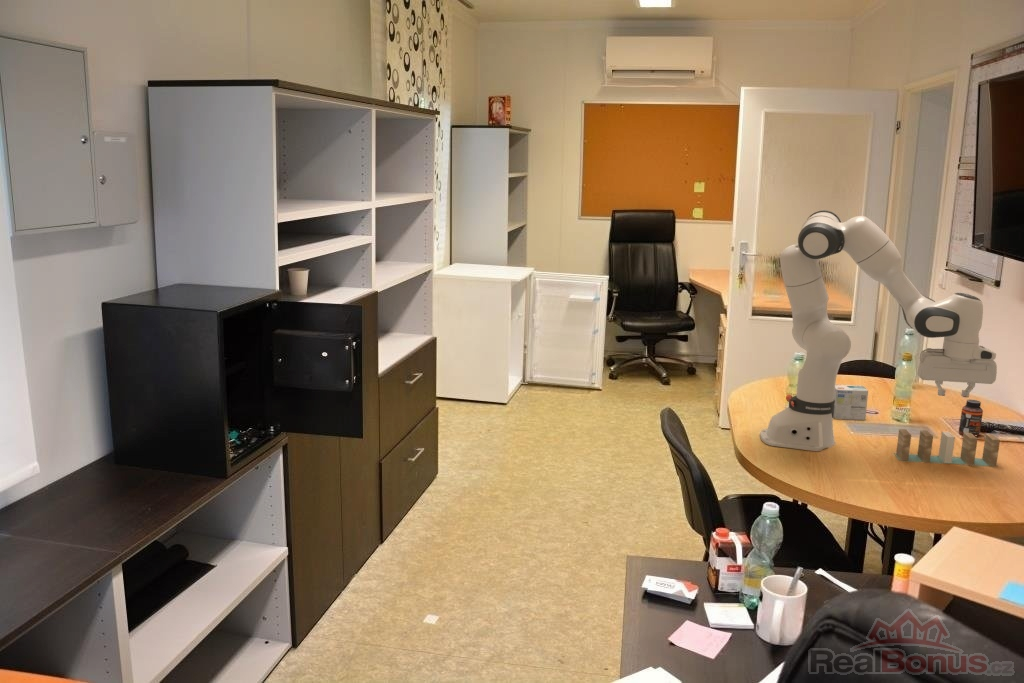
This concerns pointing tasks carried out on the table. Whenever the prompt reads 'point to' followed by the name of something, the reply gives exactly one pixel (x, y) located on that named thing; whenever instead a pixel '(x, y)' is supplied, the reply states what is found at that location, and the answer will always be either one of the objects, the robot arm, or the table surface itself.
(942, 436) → the domino
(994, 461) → the domino
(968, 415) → the supplement bottle
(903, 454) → the domino
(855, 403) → the light bulb box
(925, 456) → the domino
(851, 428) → the table surface
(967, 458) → the domino
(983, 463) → the felt runner
